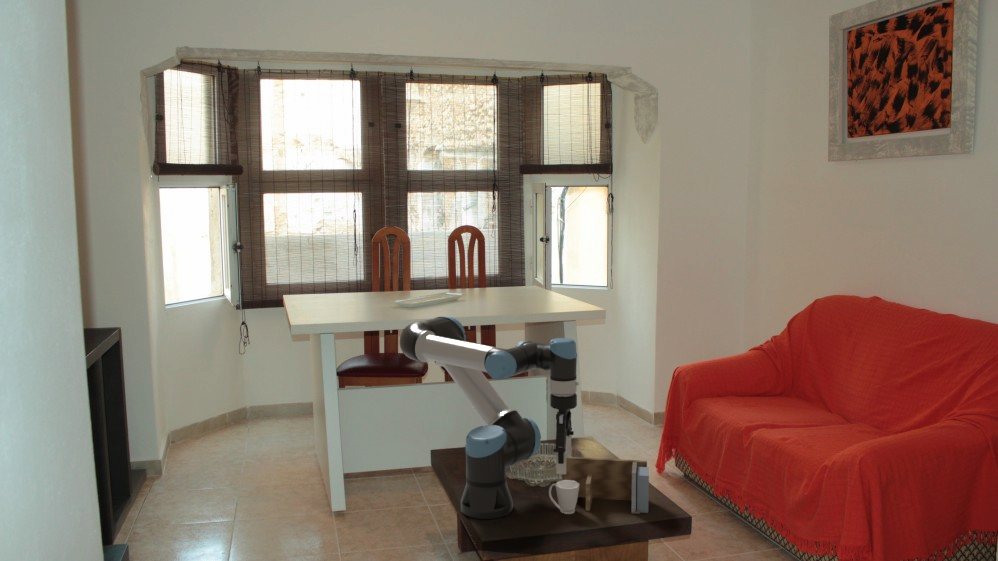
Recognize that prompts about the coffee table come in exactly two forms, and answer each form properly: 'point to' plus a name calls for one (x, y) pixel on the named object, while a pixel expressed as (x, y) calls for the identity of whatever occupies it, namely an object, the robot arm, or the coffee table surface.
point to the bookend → (634, 489)
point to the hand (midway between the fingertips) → (564, 465)
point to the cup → (566, 495)
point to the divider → (588, 492)
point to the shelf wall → (602, 476)
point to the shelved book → (643, 489)
